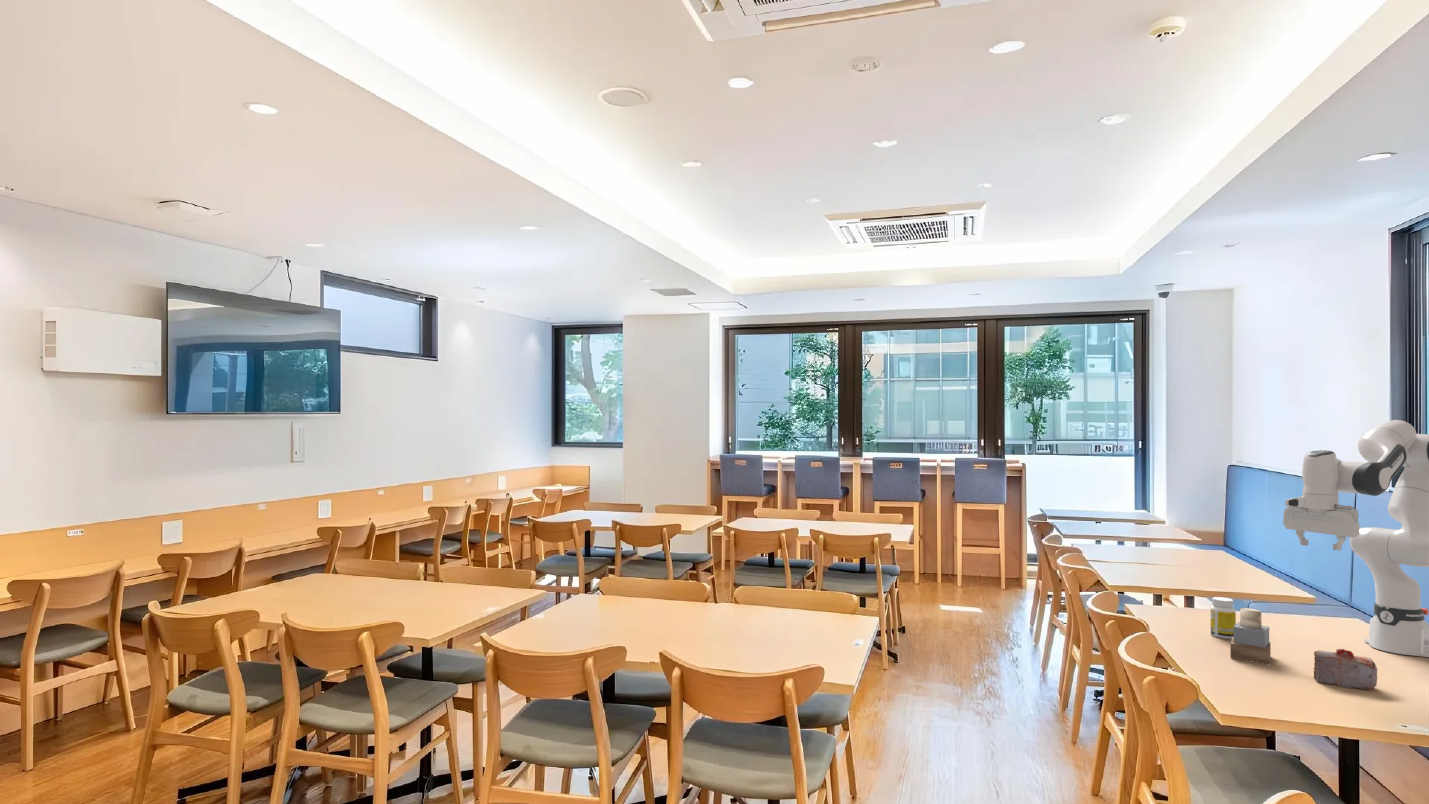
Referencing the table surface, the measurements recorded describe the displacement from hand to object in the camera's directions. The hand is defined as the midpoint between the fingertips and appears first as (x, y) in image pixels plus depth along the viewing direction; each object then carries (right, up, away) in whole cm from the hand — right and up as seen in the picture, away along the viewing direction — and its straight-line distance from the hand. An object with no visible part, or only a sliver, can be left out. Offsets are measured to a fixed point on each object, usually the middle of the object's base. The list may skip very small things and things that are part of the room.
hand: (1320, 547), depth 241 cm
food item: (-10, -35, -21) cm, 42 cm away
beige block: (-19, -25, +3) cm, 32 cm away
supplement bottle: (-13, -36, +27) cm, 46 cm away
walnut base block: (-20, -35, +3) cm, 41 cm away
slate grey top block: (-19, -30, +3) cm, 36 cm away
